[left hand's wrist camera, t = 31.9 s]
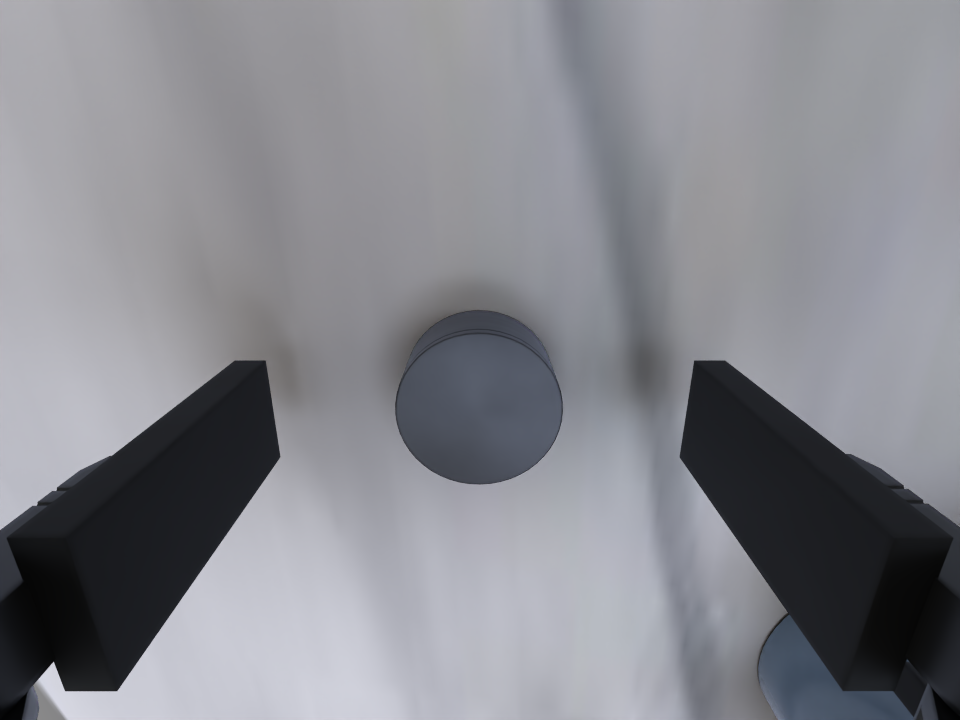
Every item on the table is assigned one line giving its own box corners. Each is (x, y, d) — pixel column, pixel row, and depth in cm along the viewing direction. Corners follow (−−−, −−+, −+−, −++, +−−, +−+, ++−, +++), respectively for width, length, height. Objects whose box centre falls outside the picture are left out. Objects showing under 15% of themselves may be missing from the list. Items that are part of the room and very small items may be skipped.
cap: (580, 391, 15) (595, 425, 13) (468, 469, 16) (466, 511, 14) (491, 279, 14) (493, 297, 12) (376, 369, 15) (360, 400, 13)
